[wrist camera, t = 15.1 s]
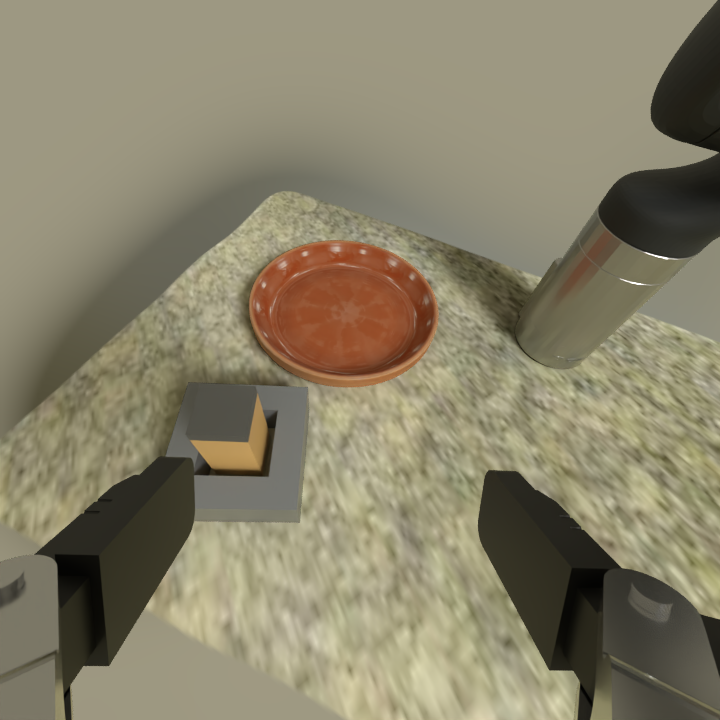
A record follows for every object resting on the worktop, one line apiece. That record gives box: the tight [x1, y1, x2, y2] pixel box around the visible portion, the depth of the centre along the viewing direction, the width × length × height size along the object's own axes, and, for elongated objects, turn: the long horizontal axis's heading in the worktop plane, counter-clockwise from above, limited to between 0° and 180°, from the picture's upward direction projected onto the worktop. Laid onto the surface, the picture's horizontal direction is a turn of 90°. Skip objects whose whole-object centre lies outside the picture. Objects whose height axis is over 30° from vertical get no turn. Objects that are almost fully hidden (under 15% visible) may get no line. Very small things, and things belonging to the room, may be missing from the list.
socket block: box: [165, 382, 309, 523], centre depth 32 cm, size 11×11×5 cm
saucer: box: [249, 240, 438, 387], centre depth 45 cm, size 23×23×4 cm
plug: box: [185, 384, 271, 477], centre depth 29 cm, size 4×4×10 cm
